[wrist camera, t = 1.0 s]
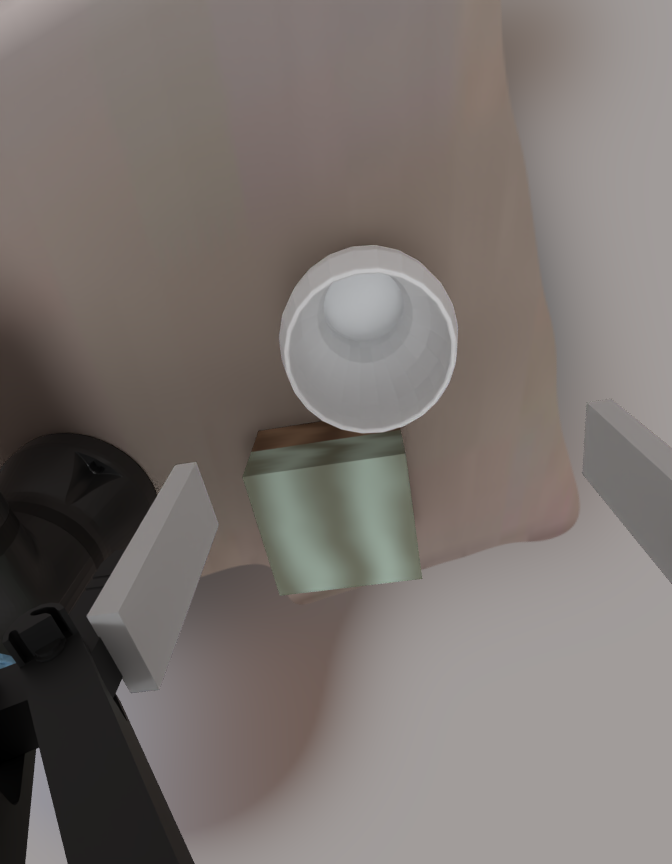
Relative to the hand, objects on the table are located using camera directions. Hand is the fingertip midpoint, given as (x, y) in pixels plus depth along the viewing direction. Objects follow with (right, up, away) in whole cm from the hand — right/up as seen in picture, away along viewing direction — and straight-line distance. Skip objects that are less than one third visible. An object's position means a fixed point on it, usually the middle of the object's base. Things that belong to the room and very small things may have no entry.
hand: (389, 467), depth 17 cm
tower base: (-2, -3, +32) cm, 32 cm away
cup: (0, +12, +24) cm, 27 cm away
